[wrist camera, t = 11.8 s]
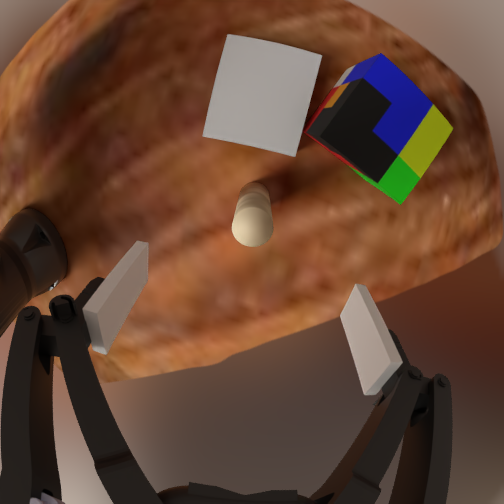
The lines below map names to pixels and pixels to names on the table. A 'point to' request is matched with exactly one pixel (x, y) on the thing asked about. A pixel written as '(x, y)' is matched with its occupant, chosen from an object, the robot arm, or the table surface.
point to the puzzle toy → (380, 126)
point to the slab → (261, 94)
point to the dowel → (253, 216)
